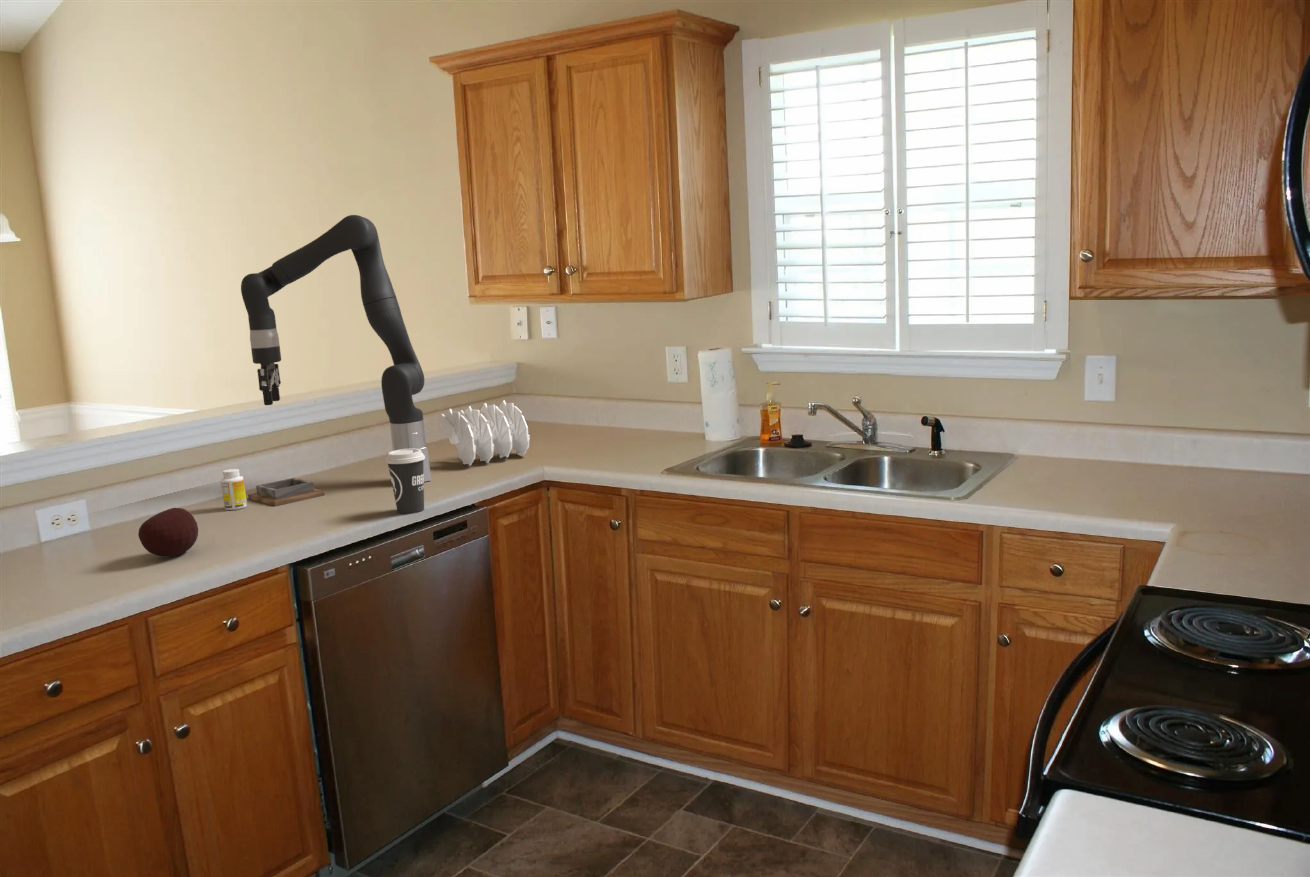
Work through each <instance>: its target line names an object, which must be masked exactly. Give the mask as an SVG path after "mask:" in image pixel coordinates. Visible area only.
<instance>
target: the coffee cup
mask: <svg viewBox="0 0 1310 877" xmlns="http://www.w3.org/2000/svg"><path fill="white" fill-rule="evenodd" d="M424 459H425V456H424V454H423V453H422V452H421V450H420V449H400V450H395V451H393V450H391V451H389V452H388V453H387V457H386V459H385V463H386V464H387V466H388V467H387V468H388V471H389V475H390V476H389V477H390V480H391V485H392V490H393V491H392V492H393V495H394V502H395V506H396V511H397V513H398V514H402V515H409V514H416V513H420V512H423V511H424V510H425V484H424V483H425V482H424V468H423V460H424Z"/></svg>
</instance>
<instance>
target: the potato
mask: <svg viewBox="0 0 1310 877" xmlns="http://www.w3.org/2000/svg"><path fill="white" fill-rule="evenodd" d="M198 526H199V525H198V523H197V521H196V519H195V517H194V516H193V515H192V513H190V512H189V511H188V510H187V509H186V508H183V507H172V508H168V509H165V510H163V511H160V512H159V513H156V514H154V515H153V516H151V517H149V518H148V519H147V520H145V521H144V522H142V523H141V525H140V527H139V529H138V534H137V535H138V539H139V541H140V543H141V545H142V547H143V548H144V549H145V550H146V551H147V552H148V553H150V554H152V555H155V556H159V557H176V556H180V555H182V554H184V553H186V552H187V551H189V550H190V549H191V548H192V547H193V546H194V544H195V543H196V542H197V539H198V536H199V527H198Z"/></svg>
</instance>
